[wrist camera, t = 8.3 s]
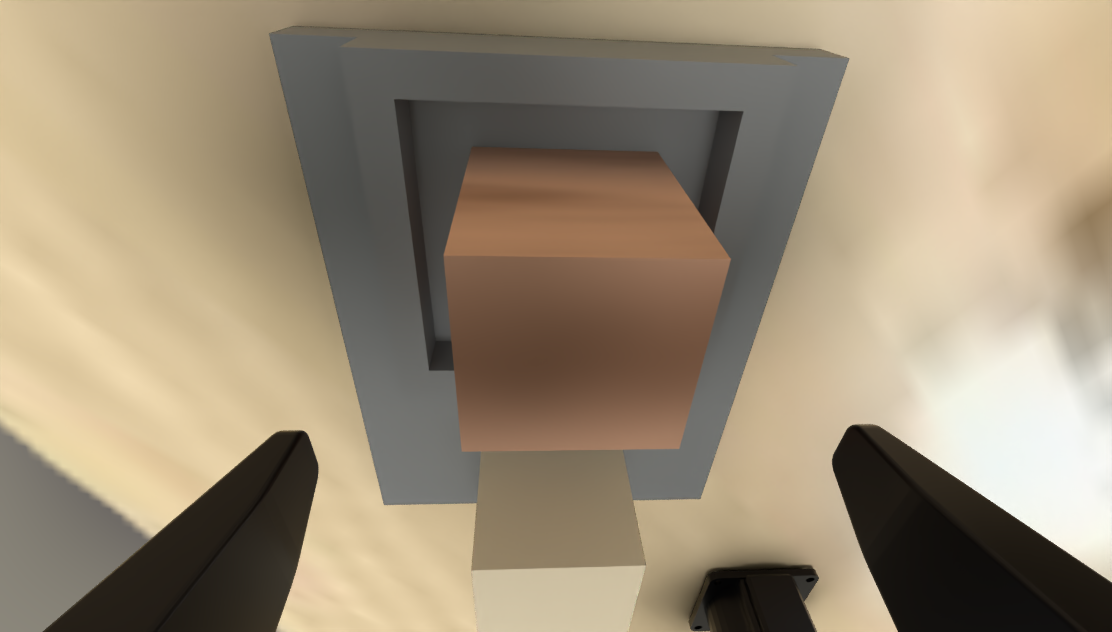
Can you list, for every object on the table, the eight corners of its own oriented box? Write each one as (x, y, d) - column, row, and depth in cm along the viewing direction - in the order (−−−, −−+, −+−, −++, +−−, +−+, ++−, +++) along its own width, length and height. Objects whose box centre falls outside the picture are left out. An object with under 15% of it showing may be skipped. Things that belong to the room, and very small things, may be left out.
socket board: (691, 471, 24) (747, 645, 18) (391, 476, 23) (345, 660, 17) (820, 49, 14) (1051, 123, 8) (292, 25, 13) (90, 90, 7)
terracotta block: (633, 304, 17) (679, 448, 12) (479, 303, 16) (461, 451, 12) (657, 151, 14) (731, 259, 9) (471, 146, 14) (443, 255, 9)
